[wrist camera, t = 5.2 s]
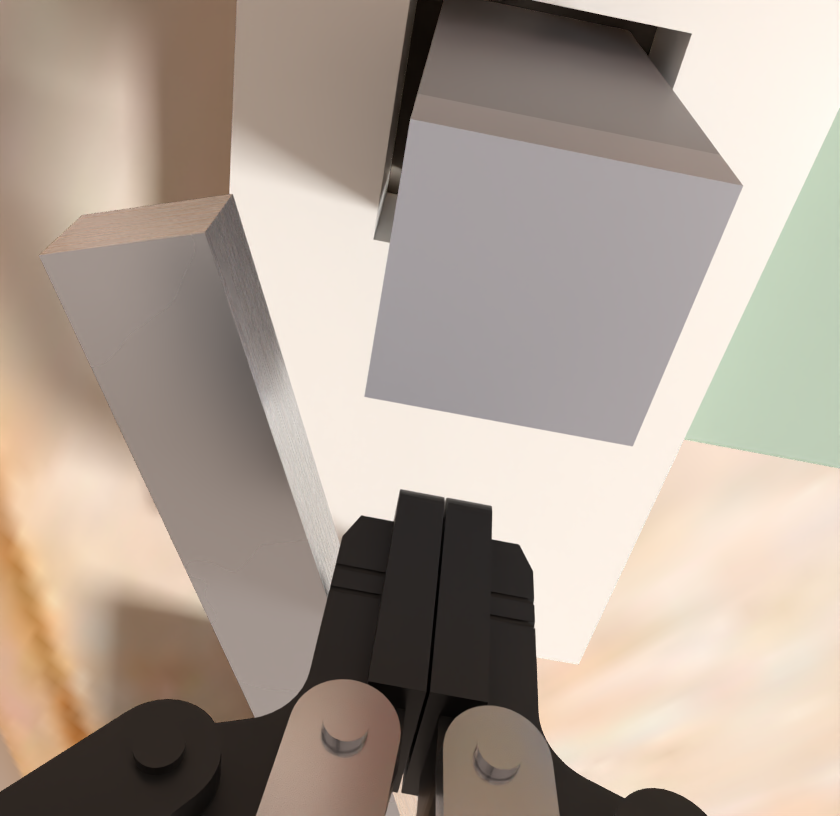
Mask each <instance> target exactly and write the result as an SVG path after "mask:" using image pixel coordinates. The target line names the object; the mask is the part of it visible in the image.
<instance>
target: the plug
mask: <svg viewBox="0 0 840 816" xmlns="http://www.w3.org/2000/svg"><path fill="white" fill-rule="evenodd" d="M742 188H743V185H742V183H741V182H740V181H739V179H738V178H737V177H736V175H735V174H734V173H733V171H732V170H731V168H730V167H729V166H728V164H727V163H726V162H725V160H724V159H723V158H722V156H721V155H720V154H719V152H718V151H717V149H716V148H715V147H714V145H713V144H712V143H711V141H710V140H709V139H708V137H707V136H706V134H705V133H704V132H703V130H702V129H701V128H700V126H699V125H698V124H697V122H696V121H695V120H694V118H693V117H692V115H691V114H690V113H689V111H688V110H687V109H686V107H685V106H684V105H683V103H682V102H681V101H680V99H679V98H678V96H677V95H676V94H675V92H674V91H673V90H672V88H671V87H670V86H669V84H668V83H667V81H666V80H665V79H664V77H663V76H662V75H661V73H660V72H659V71H658V69H657V68H656V67H655V65H654V64H653V62H652V61H651V60H650V58H649V57H648V56H647V54H646V53H645V52H644V50H643V49H642V48H641V46H640V45H639V43H638V42H637V41H636V39H635V38H634V37H633V35H632V34H631V33H630V31H629V30H625V29H621V28H616V27H611V26H606V25H601V24H597V23H592V22H587V21H582V20H577V19H573V18H568V17H563V16H558V15H553V14H549V13H544V12H539V11H534V10H529V9H525V8H520V7H515V6H510V5H505V4H501V3H496V2H491V1H486V0H444V1H443V4H442V8H441V11H440V15H439V18H438V22H437V26H436V29H435V33H434V36H433V40H432V43H431V47H430V51H429V54H428V58H427V61H426V65H425V68H424V72H423V76H422V79H421V83H420V86H419V90H418V93H417V97H416V101H415V104H414V108H413V111H412V115H411V118H410V124H409V130H408V136H407V142H406V148H405V154H404V160H403V166H402V172H401V178H400V184H399V190H398V196H397V202H396V208H395V214H394V221H393V227H392V233H391V239H390V245H389V251H388V257H387V263H386V269H385V275H384V281H383V287H382V293H381V299H380V305H379V311H378V317H377V323H376V329H375V335H374V341H373V347H372V353H371V359H370V365H369V371H368V377H367V383H366V389H365V396H364V397H367V398H373V399H378V400H384V401H389V402H394V403H400V404H405V405H411V406H416V407H422V408H427V409H432V410H438V411H443V412H449V413H454V414H459V415H465V416H470V417H476V418H481V419H486V420H492V421H497V422H503V423H508V424H513V425H519V426H524V427H530V428H535V429H541V430H546V431H551V432H557V433H562V434H568V435H573V436H578V437H584V438H589V439H595V440H600V441H605V442H611V443H616V444H622V445H627V446H633V445H634V442H635V440H636V438H637V435H638V433H639V431H640V428H641V426H642V423H643V421H644V419H645V416H646V414H647V412H648V409H649V407H650V405H651V402H652V400H653V398H654V395H655V393H656V390H657V388H658V386H659V383H660V381H661V379H662V376H663V374H664V372H665V369H666V367H667V365H668V362H669V360H670V357H671V355H672V353H673V350H674V348H675V346H676V343H677V341H678V339H679V336H680V334H681V332H682V329H683V327H684V324H685V322H686V320H687V317H688V315H689V313H690V310H691V308H692V306H693V303H694V301H695V299H696V296H697V294H698V291H699V289H700V287H701V284H702V282H703V280H704V277H705V275H706V273H707V270H708V268H709V266H710V263H711V261H712V258H713V256H714V254H715V251H716V249H717V247H718V244H719V242H720V240H721V237H722V235H723V233H724V230H725V228H726V225H727V223H728V221H729V218H730V216H731V214H732V211H733V209H734V207H735V204H736V202H737V200H738V197H739V195H740V192H741V190H742Z"/></svg>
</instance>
